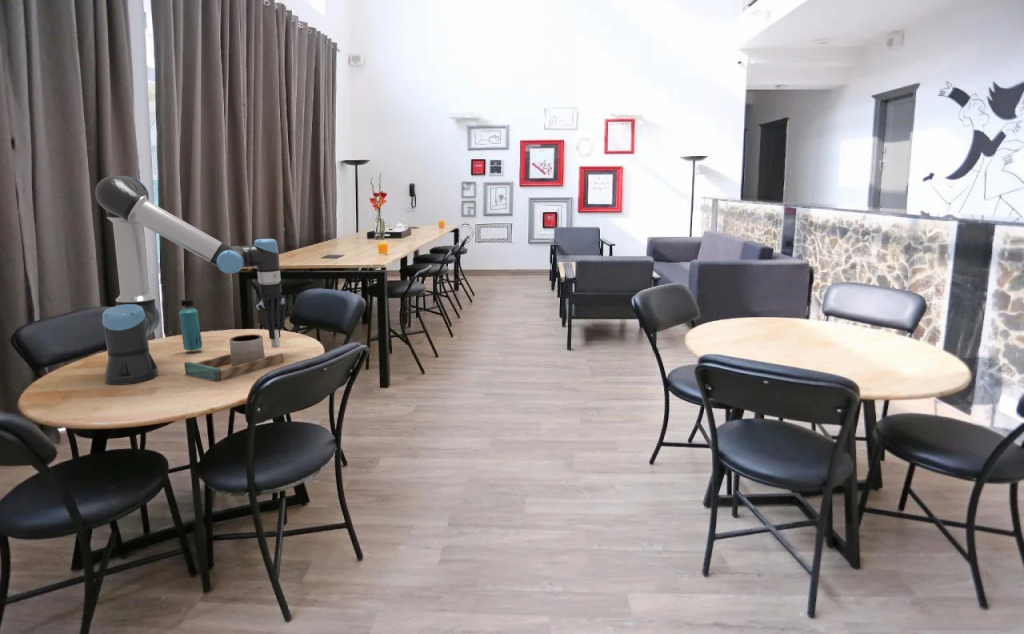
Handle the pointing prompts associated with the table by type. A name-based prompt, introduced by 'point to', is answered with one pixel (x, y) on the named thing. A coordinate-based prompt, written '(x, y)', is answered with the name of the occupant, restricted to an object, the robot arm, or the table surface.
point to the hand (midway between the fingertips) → (276, 347)
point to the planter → (246, 348)
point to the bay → (210, 371)
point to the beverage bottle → (190, 326)
